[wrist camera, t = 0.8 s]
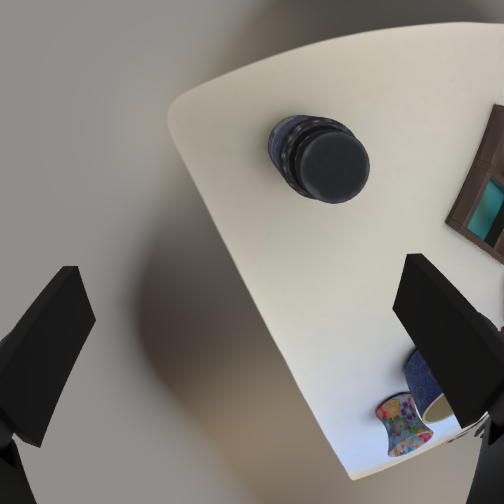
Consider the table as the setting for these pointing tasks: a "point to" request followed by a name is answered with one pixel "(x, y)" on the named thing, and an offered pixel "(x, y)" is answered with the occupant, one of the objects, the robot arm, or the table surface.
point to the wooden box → (484, 193)
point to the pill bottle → (319, 158)
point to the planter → (426, 391)
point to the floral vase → (403, 425)
